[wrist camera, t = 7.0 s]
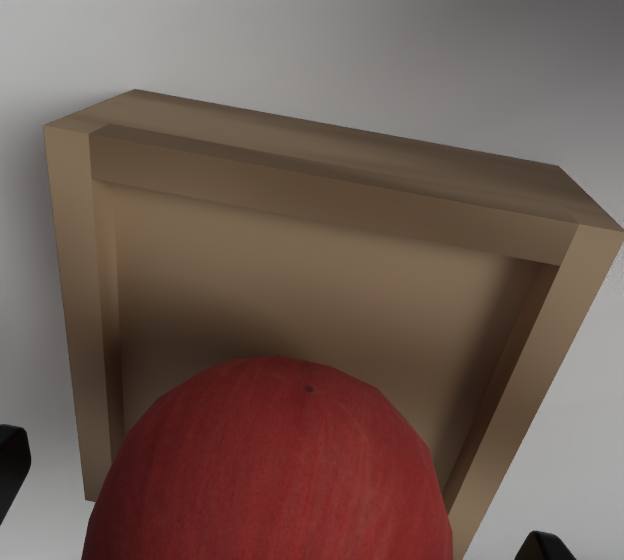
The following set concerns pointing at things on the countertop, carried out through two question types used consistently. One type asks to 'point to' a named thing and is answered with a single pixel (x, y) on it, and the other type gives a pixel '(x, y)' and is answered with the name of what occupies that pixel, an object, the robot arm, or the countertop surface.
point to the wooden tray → (318, 272)
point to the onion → (271, 473)
